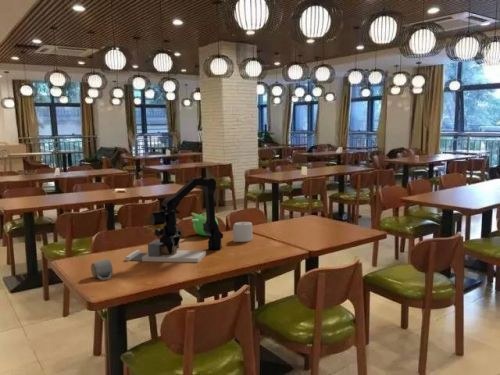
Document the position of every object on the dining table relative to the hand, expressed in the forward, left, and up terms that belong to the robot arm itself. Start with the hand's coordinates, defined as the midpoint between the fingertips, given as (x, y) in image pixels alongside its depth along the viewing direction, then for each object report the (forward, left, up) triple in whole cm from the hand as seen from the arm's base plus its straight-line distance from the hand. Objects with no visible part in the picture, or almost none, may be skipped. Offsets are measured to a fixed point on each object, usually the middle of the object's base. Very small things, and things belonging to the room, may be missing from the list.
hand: (172, 252), depth 231 cm
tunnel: (+8, 0, -1) cm, 8 cm away
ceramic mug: (+21, +33, -3) cm, 39 cm away
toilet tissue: (-30, -39, -3) cm, 49 cm away
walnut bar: (+6, 0, -1) cm, 6 cm away
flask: (+8, -19, -3) cm, 21 cm away
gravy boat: (-3, -51, -3) cm, 51 cm away
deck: (+4, 0, -3) cm, 5 cm away
